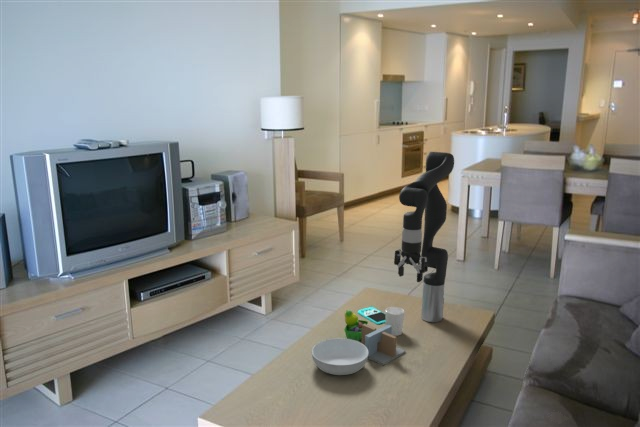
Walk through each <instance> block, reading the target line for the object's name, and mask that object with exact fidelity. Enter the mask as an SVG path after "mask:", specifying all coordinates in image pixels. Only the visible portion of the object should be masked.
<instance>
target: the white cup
mask: <svg viewBox="0 0 640 427" xmlns="http://www.w3.org/2000/svg"><path fill="white" fill-rule="evenodd" d="M384 313H385V321H386V322H385V326H386V325H390V326H392V334H391V335H393V336H396V337H397V336H400V335H402V333H403V327H404V318H405V310H404V309H403V308H401V307H399V306H397V307H396V306H389V307H386V308H385V311H384Z"/></svg>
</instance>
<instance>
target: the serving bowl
mask: <svg viewBox="0 0 640 427" xmlns="http://www.w3.org/2000/svg"><path fill="white" fill-rule="evenodd" d="M368 354H369V352H368V349H367V347H366V346H365V345H363V344H362V343H361V341H359V342H358V341H355V340H351V339H347V337H346V338H344V337H343V338H342V337H334V338H333V337H332V338H328V339H327V338H326V339H324V340H321V341H319V342H317V343H315V344H314V346H313V347H312V348H311V358H312V360H313V363H314V364H315V366H316V367H317V368H319V370H321V371H323V373H327V374H331V375H334V376H346V375H347V376H348V375H352V374H354V373H357V372H358V371H360V370H361V369H362V368H363V367H364V366H365V365H366V363H367V361H368V359H369V358H368Z"/></svg>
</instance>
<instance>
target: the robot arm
mask: <svg viewBox="0 0 640 427" xmlns="http://www.w3.org/2000/svg"><path fill="white" fill-rule="evenodd" d="M454 167H455V158H454V155H453V154H452V153H450V152H440V151H429V152H428V153H427V155H426V158H425V172H423V173H421V174H420V175H419V176H418V177H417V178H416V179H415V181H412V182H411V183H409V184H407V185H405V186H404V187H403V188H402V189H401V190H400V192H399V196H398V200H399V202H400V204H401V205H403V206H406V207H413V208H415V210H414V211H407V212H404V214H403V216H402V217H403V219H402V220H403V221H402V225H403V226H402V231H401V248H399V249H397V250H395V251H394V258H393V259H394V260H393V264H394V265H395V266H397V270H398V271H397V272H398V273H397V275H398V277H403V276H404V274H405V265H409V266H413V268H414V269H415V270H416V271H417V273H416V282H417V283H420V282H422V281H423V284H422V286H423V287H422V300H421V302H422V303H421V313H420V315H421V316H420V317H421V320H424V321H425V322H428V323H439V322H441V321H442V320H443V317H444V306H445V297H444V294H445V283H446V282H445V281H446V277H447V276H446V275H447V267H448V259H449V254H448V251H447V250H446V249H445V248H443V247H442V248H440V247H436V246H433V243H434V239H435V236H436V235H437V233H438V231H439V230H440V229H441V228H442V227H443V226H444V223H445V222H446V220H447V212H448V211H447V209H448V205H447V201H446V199H445V197H444V196H443V193H442V192H441V190H440V187H439V186H438V184H439V183H440V182H441V181H442V180H443V179H445V178H446V177H447V176H449V175H450V174H451V173H452V172H453V170H454ZM423 217H424V224H423ZM422 224H423V225H424V226H423V225H422ZM422 226H423V228H424V229H423V228H422ZM422 229H423V230H422ZM422 239H423V240H422ZM401 258H402V259H401ZM429 268H431V269H435V272H429V273H427V272H428V269H429ZM425 273H426V274H425ZM423 275H424V276H423Z"/></svg>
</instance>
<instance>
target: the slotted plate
mask: <svg viewBox="0 0 640 427" xmlns="http://www.w3.org/2000/svg"><path fill="white" fill-rule="evenodd" d="M383 332H386V333H388V334H392V326H390V325H386V324H385V326H382V327H380V328H378V329H376V331H374V332H371V333H369V334H367V335H365V346H366V347H367V349H368V352H369V354H368V356H370V355H372V354H374V353H376V352H377V343H378V342H380V341H381V337H382V333H383Z"/></svg>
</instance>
